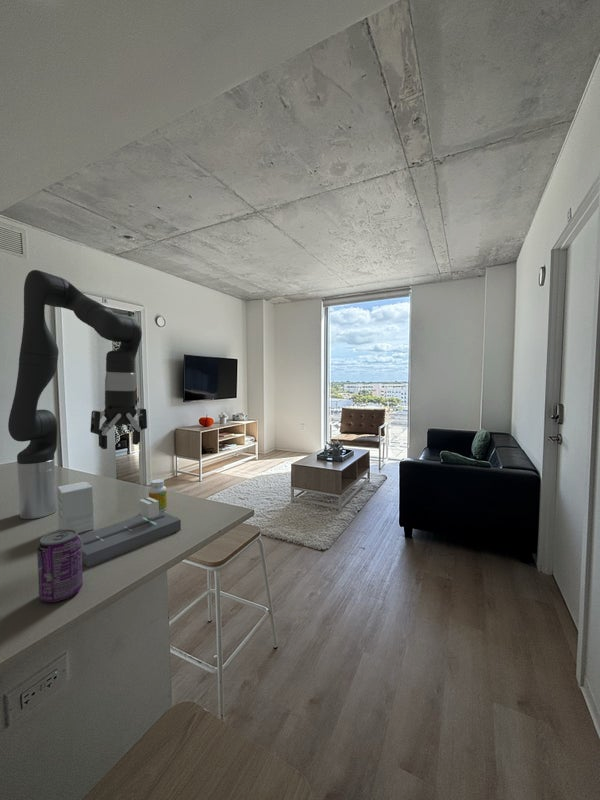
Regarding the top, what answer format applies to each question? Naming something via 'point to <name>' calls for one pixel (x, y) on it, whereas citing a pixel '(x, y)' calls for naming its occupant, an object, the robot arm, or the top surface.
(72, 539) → the beverage can
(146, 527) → the console
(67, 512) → the supplement box
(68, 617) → the top surface
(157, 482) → the supplement bottle
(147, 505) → the fader knob
